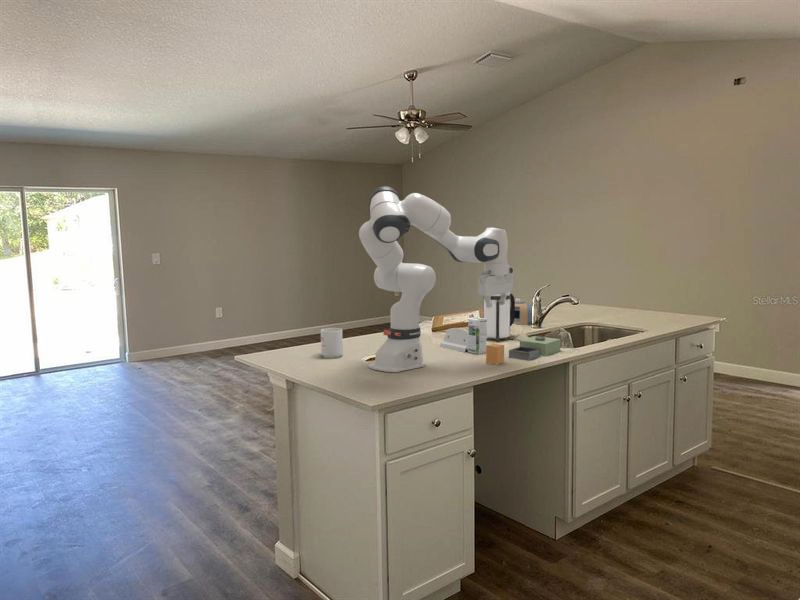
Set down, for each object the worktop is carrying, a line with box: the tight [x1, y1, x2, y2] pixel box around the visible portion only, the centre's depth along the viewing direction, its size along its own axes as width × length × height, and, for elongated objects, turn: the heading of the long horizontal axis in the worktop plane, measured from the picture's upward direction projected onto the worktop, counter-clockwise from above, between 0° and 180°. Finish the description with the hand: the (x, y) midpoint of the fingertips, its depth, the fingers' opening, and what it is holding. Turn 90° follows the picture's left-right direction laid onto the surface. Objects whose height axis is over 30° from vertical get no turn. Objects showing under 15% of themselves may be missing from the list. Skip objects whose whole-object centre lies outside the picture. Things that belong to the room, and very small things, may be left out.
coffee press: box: [482, 292, 516, 343], centre depth 281 cm, size 17×16×30 cm
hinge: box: [439, 327, 468, 353], centre depth 262 cm, size 17×5×10 cm, turn 36°
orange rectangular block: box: [485, 342, 505, 365], centre depth 234 cm, size 5×5×7 cm
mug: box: [320, 327, 344, 359], centre depth 250 cm, size 12×9×11 cm
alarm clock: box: [510, 300, 533, 326], centre depth 327 cm, size 19×20×12 cm
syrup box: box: [467, 317, 488, 355], centre depth 253 cm, size 6×6×14 cm
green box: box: [519, 335, 561, 357], centre depth 253 cm, size 13×12×6 cm
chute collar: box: [508, 345, 541, 361], centre depth 244 cm, size 9×9×3 cm
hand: (495, 306), depth 232 cm, fingers open, 8 cm apart
